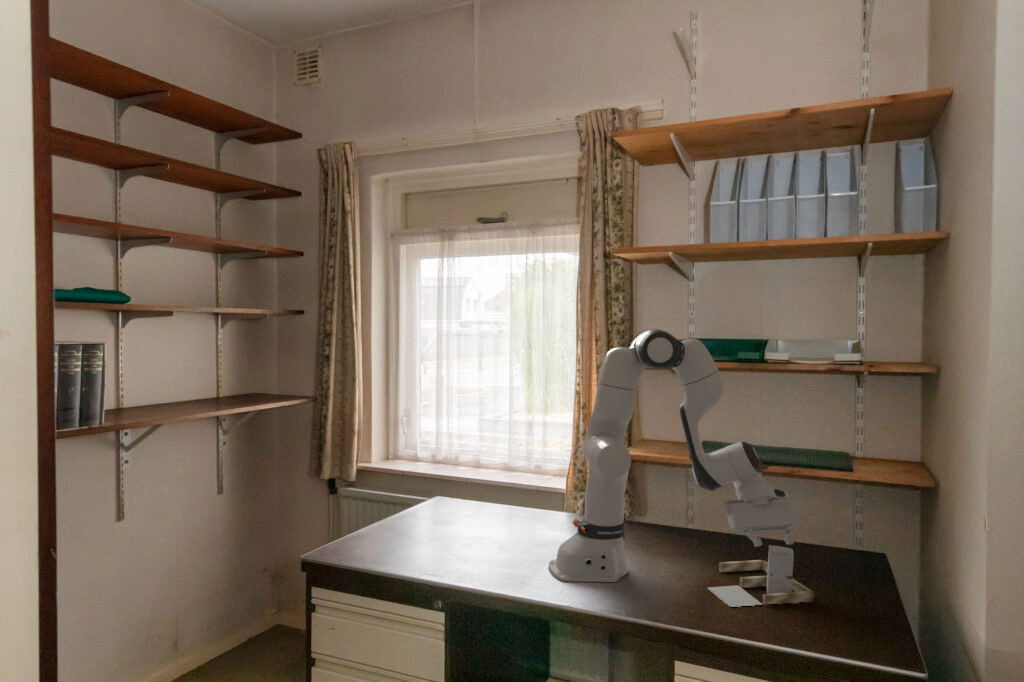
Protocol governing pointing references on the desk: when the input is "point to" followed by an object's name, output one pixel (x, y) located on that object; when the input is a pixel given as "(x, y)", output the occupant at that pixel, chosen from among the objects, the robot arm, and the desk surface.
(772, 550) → the skincare box
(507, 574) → the desk surface
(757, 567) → the lane rack
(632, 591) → the desk surface
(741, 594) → the grey mat
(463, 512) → the desk surface
